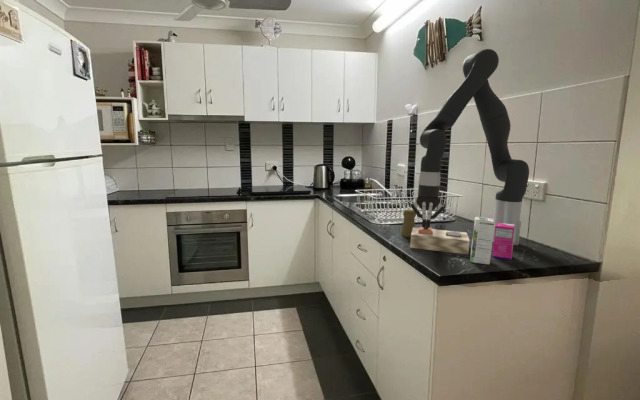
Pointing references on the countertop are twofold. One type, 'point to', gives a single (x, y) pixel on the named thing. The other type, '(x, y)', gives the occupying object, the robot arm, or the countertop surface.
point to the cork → (408, 222)
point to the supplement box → (503, 241)
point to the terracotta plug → (425, 230)
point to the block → (440, 241)
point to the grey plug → (453, 234)
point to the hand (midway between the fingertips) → (425, 228)
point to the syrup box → (482, 240)
